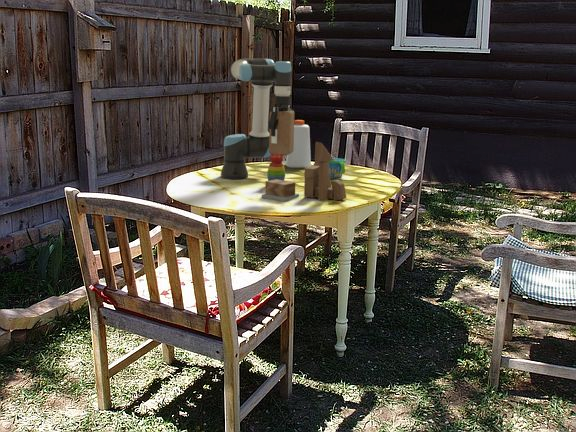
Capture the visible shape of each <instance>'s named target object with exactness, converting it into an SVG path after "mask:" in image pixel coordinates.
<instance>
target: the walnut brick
mask: <svg viewBox="0 0 576 432" xmlns="http://www.w3.org/2000/svg"><path fill="white" fill-rule="evenodd" d="M264 188H265V191H264V192H265V193H264V194H270V195H275V196H280V197H288V196H293V195H295V193H296V182H294V181H289V180H284V181H283V180H278V179H275V180H270V181H268V180H266V181H265V187H264Z"/></svg>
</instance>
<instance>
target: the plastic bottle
mask: <svg viewBox="0 0 576 432" xmlns="http://www.w3.org/2000/svg"><path fill="white" fill-rule="evenodd" d="M294 122H295V125H294V149H293V152H292V153H290V154H289V155H285V156H286V158H285V159H286V160H285V166H286V167H287V168H290V169H291V168H292V169H305V168H307V167H309V166H312V161H311V158H312V157H311V137H310V136H311V135H310V134H311V133H310V130H311V129H310V126H309V125H308V124H305V120H303V119H294Z"/></svg>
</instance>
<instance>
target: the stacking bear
mask: <svg viewBox="0 0 576 432" xmlns="http://www.w3.org/2000/svg"><path fill="white" fill-rule="evenodd" d="M270 161H271V162H270V163H269V165H268V169H267V175H266V176H267V181H270V180H275V179H278V180H283V181H285V178H286V169H285V166H284V164H283V161H284V155H282V154H271V155H270Z"/></svg>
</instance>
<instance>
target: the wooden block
mask: <svg viewBox="0 0 576 432" xmlns="http://www.w3.org/2000/svg"><path fill="white" fill-rule="evenodd" d="M271 113H272V110H271V111H270V112H269V119H270V118H271ZM277 119H278V125H277V128H276V129H277V144H275V143H271V129H269V128H268V132H269V153H270V154H282V155H283V156H284V155H285V156H286V155H289V154H290V153H292V152H293V149H294V121H295V111H294V109H292V110H288V111H278V113H277V117H276V120H277ZM274 127H275V126H274Z"/></svg>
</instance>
